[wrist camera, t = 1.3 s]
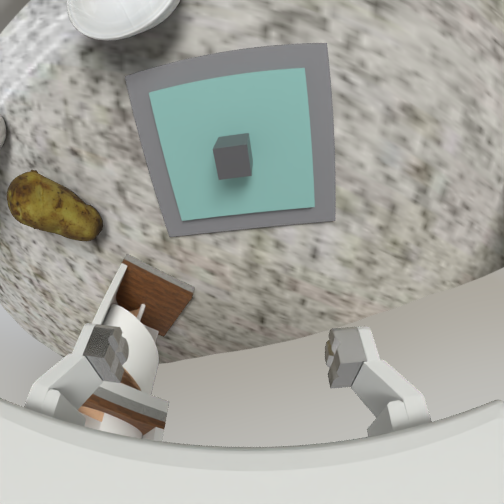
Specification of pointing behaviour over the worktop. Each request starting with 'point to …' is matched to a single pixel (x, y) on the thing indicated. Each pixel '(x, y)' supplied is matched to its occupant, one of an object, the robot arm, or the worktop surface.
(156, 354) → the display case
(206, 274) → the worktop surface
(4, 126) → the plastic bottle
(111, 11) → the ramekin
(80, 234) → the potato
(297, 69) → the lid
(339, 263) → the worktop surface
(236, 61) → the mat
